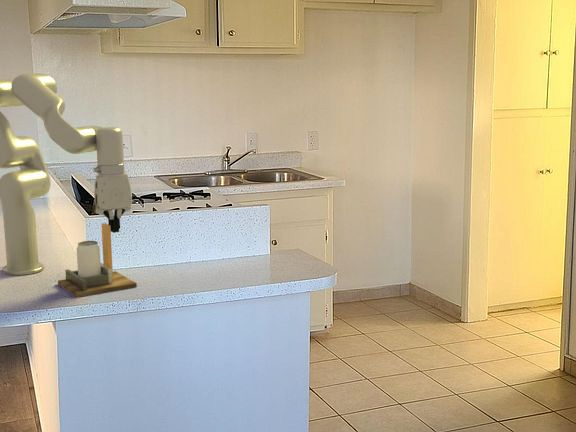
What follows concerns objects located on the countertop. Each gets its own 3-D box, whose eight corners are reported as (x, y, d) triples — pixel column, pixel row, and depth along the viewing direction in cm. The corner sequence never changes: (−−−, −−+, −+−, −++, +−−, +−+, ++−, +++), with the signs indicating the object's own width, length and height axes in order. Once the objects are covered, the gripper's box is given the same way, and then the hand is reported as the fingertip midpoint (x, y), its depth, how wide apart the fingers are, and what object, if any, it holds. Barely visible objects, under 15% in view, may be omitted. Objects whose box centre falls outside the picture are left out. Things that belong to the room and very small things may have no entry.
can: (103, 279, 232) (101, 240, 230) (98, 285, 226) (96, 245, 224) (81, 279, 232) (79, 240, 230) (76, 286, 226) (74, 245, 223)
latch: (96, 276, 235) (94, 222, 232) (104, 275, 236) (101, 221, 233) (108, 283, 227) (106, 227, 224) (116, 282, 228) (114, 226, 225)
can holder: (65, 279, 232) (65, 269, 232) (93, 275, 237) (93, 265, 237) (83, 291, 220) (82, 281, 220) (112, 286, 225) (111, 276, 224)
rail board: (58, 284, 232) (58, 280, 232) (115, 275, 242) (115, 271, 242) (76, 297, 219) (76, 293, 219) (136, 287, 229) (136, 283, 229)
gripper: (91, 173, 220) (95, 237, 224) (140, 169, 229) (143, 230, 232) (81, 171, 226) (85, 233, 230) (129, 166, 235) (132, 226, 238)
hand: (114, 231), depth 231 cm, fingers closed
